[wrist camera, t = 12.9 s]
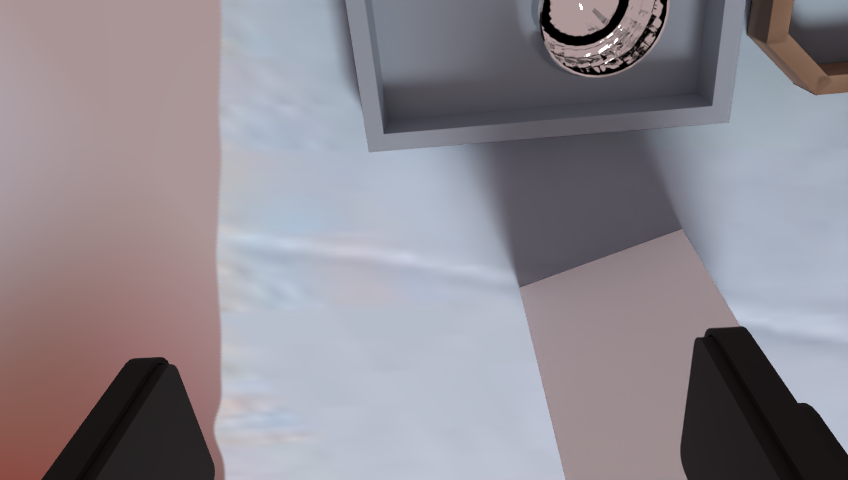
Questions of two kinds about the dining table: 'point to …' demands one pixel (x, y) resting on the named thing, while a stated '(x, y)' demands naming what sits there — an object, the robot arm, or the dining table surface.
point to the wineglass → (591, 33)
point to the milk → (623, 356)
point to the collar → (792, 49)
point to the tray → (528, 75)
